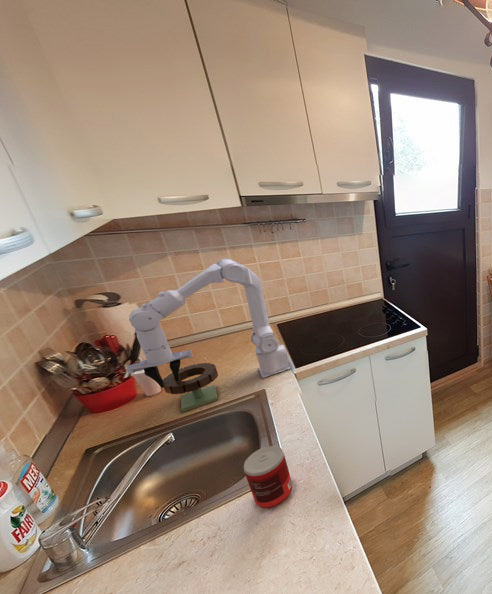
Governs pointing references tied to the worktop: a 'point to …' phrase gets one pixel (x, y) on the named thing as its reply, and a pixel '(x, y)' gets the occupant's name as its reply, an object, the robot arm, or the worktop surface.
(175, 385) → the walnut ring
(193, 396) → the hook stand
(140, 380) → the smoothie
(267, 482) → the canned food
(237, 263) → the robot arm
